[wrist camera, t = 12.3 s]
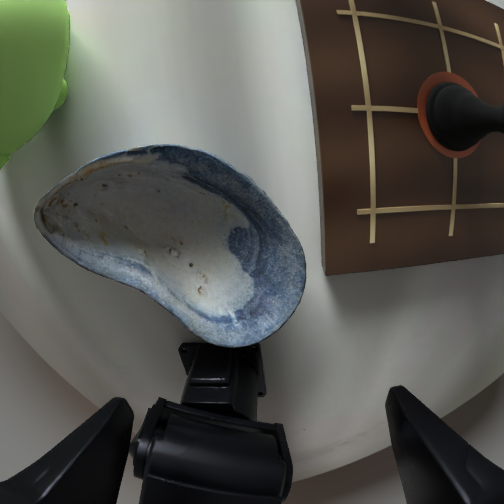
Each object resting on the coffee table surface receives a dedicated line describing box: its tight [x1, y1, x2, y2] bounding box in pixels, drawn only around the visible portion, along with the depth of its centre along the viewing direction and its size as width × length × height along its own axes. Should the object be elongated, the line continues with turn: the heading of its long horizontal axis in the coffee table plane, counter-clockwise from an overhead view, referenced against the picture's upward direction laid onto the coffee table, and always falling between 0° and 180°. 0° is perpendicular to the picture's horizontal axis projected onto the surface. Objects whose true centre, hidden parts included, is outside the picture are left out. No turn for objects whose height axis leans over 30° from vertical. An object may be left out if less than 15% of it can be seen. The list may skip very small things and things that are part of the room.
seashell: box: [34, 144, 306, 348], centre depth 17 cm, size 15×12×5 cm
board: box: [296, 0, 504, 276], centre depth 14 cm, size 20×18×2 cm
